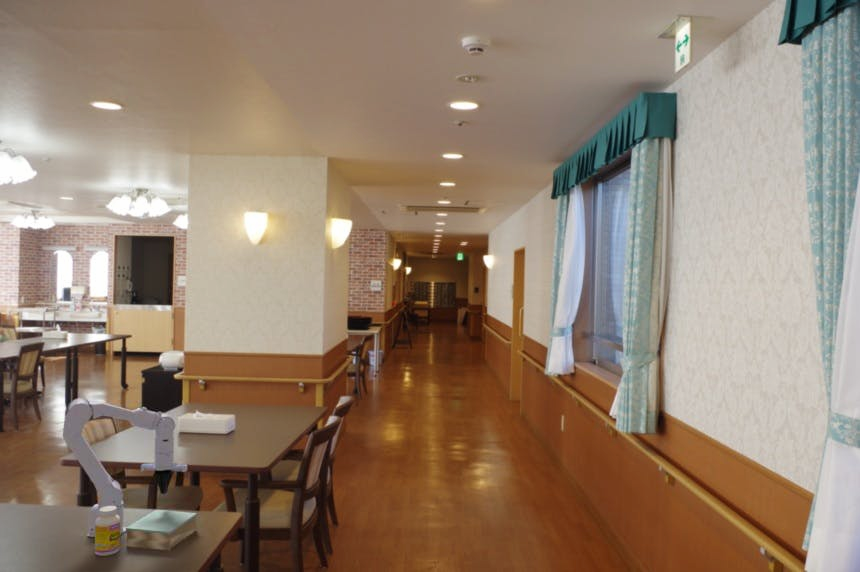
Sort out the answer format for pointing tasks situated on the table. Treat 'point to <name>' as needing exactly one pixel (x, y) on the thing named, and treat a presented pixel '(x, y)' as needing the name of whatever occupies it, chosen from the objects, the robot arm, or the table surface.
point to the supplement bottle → (107, 531)
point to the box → (160, 537)
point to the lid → (161, 521)
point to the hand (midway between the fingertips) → (163, 492)
